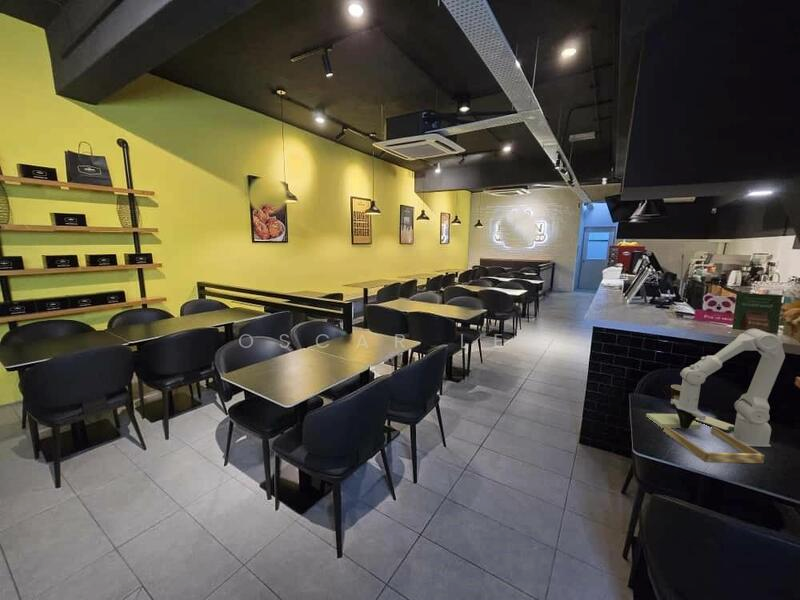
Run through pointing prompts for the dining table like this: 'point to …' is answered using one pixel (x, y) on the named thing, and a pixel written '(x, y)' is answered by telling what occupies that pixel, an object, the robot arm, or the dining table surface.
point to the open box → (745, 457)
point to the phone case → (716, 424)
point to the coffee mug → (674, 393)
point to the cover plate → (670, 421)
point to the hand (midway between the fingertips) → (684, 427)
